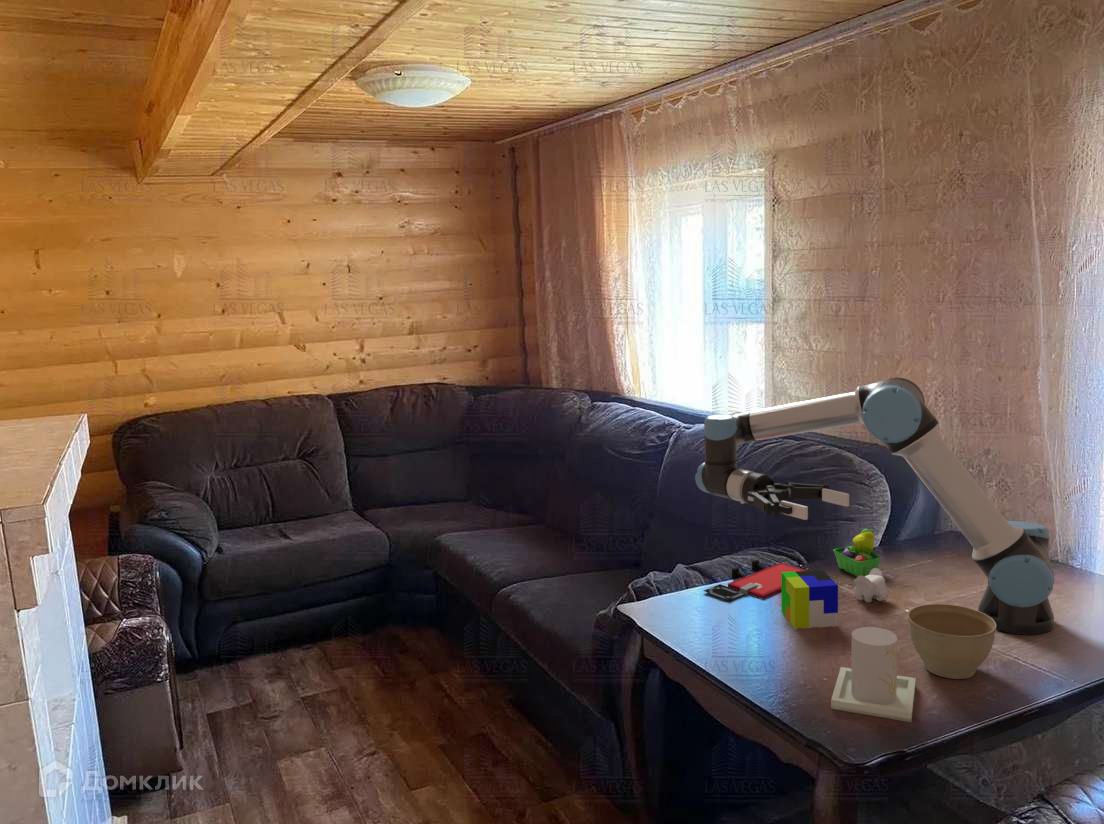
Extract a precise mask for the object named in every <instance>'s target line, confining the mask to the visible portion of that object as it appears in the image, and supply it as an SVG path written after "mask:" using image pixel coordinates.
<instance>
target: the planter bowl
mask: <svg viewBox="0 0 1104 824" xmlns="http://www.w3.org/2000/svg"><path fill="white" fill-rule="evenodd" d="M907 620H908V622H909V623H908V627H909V628H908V629H909V634H910V640H911V641H912V644H913V646H914V649H915V651H916V652H917V654H918V657H920V658H921V660H922V661H923V666H924V668H925V669H926V670H927V671H928V672H930V673H932V674H934V675H936V676H939V677H942V678H947V679H953V680H960V679H961V680H962V679H963V680H964V679H968V678H969V679H970V678H971V677H973V676H974V675H975V674H976V672H977V669H978V668H980V666H981V665H982V664H983V663H984V662H985V660H986V659H987V658H988V656H989V654H990V653H991V651H992V648H993V645H994V640H995V634H996V632H997V629H996V622H995V621H994V620H993V619H992V618H991V617H989V616H988V615H986V614H984V613H982V612H980V611H978V609H977V610H976V609H973V608H970V607H966V606H962V605H956V604H949V603H946V604H945V603H932V604H931V603H930V604H923V605H918V606H917V605H916V606H915V607H913V608H911V609H910V610H909V611H908V613H907Z"/></svg>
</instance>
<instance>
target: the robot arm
mask: <svg viewBox="0 0 1104 824" xmlns="http://www.w3.org/2000/svg"><path fill="white" fill-rule="evenodd" d="M857 424H862V425H864V426H865V429H866V430H867V431H868V432H869V433H870V435H871V436H873V437H874V438H875V439H877V440H878V441H881V442H882V444H883V445H884V446H885V447H886V449H887V450H888V452H889V453H891V455H892V456H893V455H894V456H899V457H902V458H903V459H904V460H905V461H906V462H907V464H908V465H909V466H910V468H911V469H912V470H913V471H914V472H915V474H916V475H917V477H918V478H919V479H920V480H921V482H922V483H923V484H924V486H925V487H926V488H927V489H928V491H929V492H930V493H931V494H932V496H933V497H934V499H935V500H936V501H937V502H938V504H939V505H940V506H941V507H942V509H943V510H944V511H945V513H946V514H947V515H948V517H949V518H950V519H951V521H952V522H953V523H954V524H955V525H956V527H957V528H958V529H959V530H960V532H961V533H962V535H963V536H964V537H965V538H966V540H967V541H968V542H969V543H970V545H971V546H972V548H973V549H972V554H971V558H972V559H973V562H975V563H976V564H977V566H978V567H979V568H980V570H981V572H983V573H984V575H985V576H986V577H987V586H986V588H985V590H984V593H983V596H982V597H981V600H980V602H979V605H978V609H977V611H980V612H982V613H984V614H986V615H988V616H989V617H991V618H992V619H993V620H994V621H995V622H996V631H997V630H998V631H1000V632H1005V633H1010V634H1017V635H1029V636H1030V635H1041V634H1045V633H1048V632H1051V631H1052V630H1053V629H1054V626H1055V616H1054V612H1053V609H1052V606H1051V602H1050V600H1049V596H1050V595H1051V593H1052V591H1053V588H1054V585H1055V575H1054V573H1055V572H1054V571H1053V569H1052V564H1051V559H1050V556H1049V546H1050V545H1049V542H1050V540H1051V537H1050V530H1049V529H1048V527H1046V526H1045V525H1042V524H1040V523H1035V522H1030V521H1029V522H1028V521H1021V520H1020V521H1019V520H1007V519H1006V518H1005V517H1004V516H1003V514H1002V513H1001V512H1000V511H999V509H998V507H996V505H995V504H994V503H993V502H992V500H991V499H990V498H989V497H988V495H987V494H986V493H985V491H984V490H983V488H981V487H980V485H979V484H978V483H977V481H976V480H975V479H974V478H973V476H972V475H971V473H970V472H969V471H968V470H967V469H966V467H965V466H964V465H963V464H962V462H961V461H960V460H959V458H958V457H957V456H956V454H955V453H954V451H952V450H951V448H950V447H949V446H948V444H947V443H946V442H945V440H944V439H943V438H942V437H941V436H940V434H939V429H940V422H939V421H938V420H937V418H936V416H934V414H933V413H932V412H931V410H930V409H929V408H928V407H927V405H926V401H925V396H924V394H923V391H922V389H921V388H920V387H919V386H918V385H917V384H916V383H915V382H913V380H909V379H907V378H904V377H889V378H886V379H882V380H879V381H876V382H871V383H869V384H868V383H867V384H864V385H859V386H857V387H856V388H855V390H854V391H850V392H845V393H839V394H835V395H830V396H825V397H819V398H813V399H809V400H803V401H797V402H791V403H787V404H783V405H777V406H776V405H775V406H772V407H771V406H770V407H766V408H759V409H756V410H751V411H745V412H742V411H736V412H732V413H729V414H713V415H708V416H706V418H705V419H704V425H703V438H704V462H702V463H701V464H700V465H699V466H698V468H697V469H696V473H695V476H694V478H695V479H694V480H695V484H696V486H697V488H698V489H699V490H701V492H705V493H707V494H710V495H711V496H715V497H721V498H724V499H725V498H726V499H729V500H732V501H733V500H734V501H737V502H740V504H742V505H744V504H748V505H751V506H754V507H755V508H757V509H758V510H760V511H761V512H763V513H764V514H765V515H772V513H773V517H774V518H775V517H777V518H779V517H780V514H782V515H785V516H790V517H793V518H797V519H801V520H803V521H807V520H808V518H809V511H808V510H809V509H808V508H809V506H807V505H802V504H800V503H799V504H798V503H794V502H791V501H794V500H795V499H799V500H800V499H801V500H802V499H804V500H805V499H806V500H808V499H809V500H810V499H811V500H813V499H814V500H822V502H826V503H829V504H834V505H838V506H843V507H850V493H847V492H843V491H837V490H834V489H830V485H827V484H826V483H823V484H816V483H815V484H812V483H802V482H795V481H794V482H793V481H785V484H784V483H781V482H777V483H776V482H775V481H774V480H773V478H772V476H770V475H768V474H765V473H760V472H756V471H752V470H748V469H742V468H738V467H737V466H738V465H737V462H738V457H737V455H738V454H737V453H738V452H737V449H738V447H739V446H740V445H741V444H748V443H752V442H757V441H761V440H769V439H774V438H779V437H786V436H792V435H797V434H803V433H810V432H815V431H822V430H827V429H834V428H839V427H845V426H850V425H857ZM789 495H790V496H789Z"/></svg>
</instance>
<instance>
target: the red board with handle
mask: <svg viewBox="0 0 1104 824" xmlns="http://www.w3.org/2000/svg"><path fill="white" fill-rule="evenodd" d="M751 570H752V571H756V570H759V571H756V572H754V573H751V574H748V575H745V574H744V573H742V572H741V571H740V567H737V566H736V567H733V568H731V578H732V579H736V580H733V581H731V582H729V583H727V586H726V585H723V584H717V585H715V586H711V587H710V588H707V589H704V590H703V592H705V593H708V594H711V595H714V596H717V597H719V598H721V599H724V600H727V601H731V600H734V599H735V598H738V597H740V596H742V595H743V596H747V595H750V596H753V597H755V598H757V599H758V598H759V599H761V600H765V599H767V598H769V597H772V596H774V595H777V594H778V593H781V572H795V571H808V570H807V569H803V568H800V567H797V566H793V565H791V564H787V563H783V562H779V563H776V564H774V565H772V566H771V565H770V566H769V567H765V566H763V565H761V564H760V560H759V559H754V560H752V561H751ZM737 578H738V579H737Z"/></svg>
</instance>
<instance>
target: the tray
mask: <svg viewBox="0 0 1104 824" xmlns="http://www.w3.org/2000/svg"><path fill="white" fill-rule="evenodd" d="M851 671H852V667H851V668H849V667H844V666H841V667H840V668H839V671H838V674H837V675H838V676H837V679H836V681H835V685H834V688H833V692H832V696H831V700H830V704H831V705H830V708H831V710H836V711H842V712H849V713H853V714H861V715H867V716H871V717H878V718H885V719H890V720H897V721H901V722H908V723H912V719H913V713H914V712H913V710H914V704H915V703H914V702H915V693H916V680H917V679H916V677H911V676H910V677H909V676H904V675H898V674H897V694H896V700H895V701H894V702H893V703H891V704H887V705H879V704H873V703H866V702H861V701H859V700H857V699H856V698H854V697H853V695H852V693H851Z"/></svg>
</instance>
